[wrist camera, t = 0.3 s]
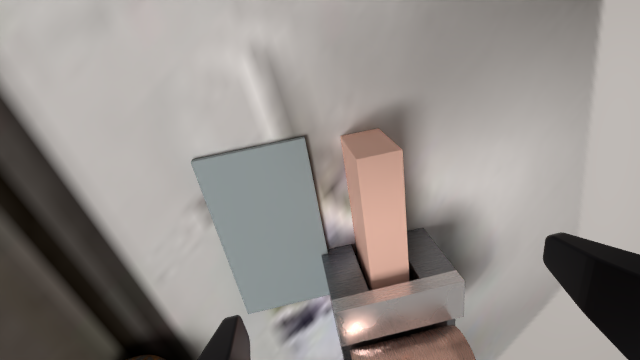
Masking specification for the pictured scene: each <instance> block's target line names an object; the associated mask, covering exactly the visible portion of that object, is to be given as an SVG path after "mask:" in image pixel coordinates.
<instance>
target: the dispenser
mask: <svg viewBox="0 0 640 360" xmlns="http://www.w3.org/2000/svg"><path fill="white" fill-rule="evenodd" d="M407 244H408V262H409V282H405V283H400V284H396V285H392V286H388V287H384V288H380V289H375V290H371V291H370V288H369V286H368V283H367V281H366V278H365V275H364V273H363V270H362V268H361V269H360V267H359V264H358V262H357V259H356V256H355V254H354V251H353V249H352V246H351V245H347V246H342V247H338V248H334V249H329V250H327V252H328V253H327V254H323V255H321V257H322V261H323V266H324V271H325V275H326V280H327V285H328V289H329V294H330V299H331V304H332V308H333V313H334V318H335V323H336V327H337V332H338V336H339V340H340V345H341V349H342V354H343V358H344V360H476V359H475V356H474V354H473V352H472V350H471V348H470V346H469V344H468V342H467V340H466V339H465V337H464V335H463V334H462V333H461V331H460V330H459V329H458V328H457V327H456V326H455V318H459V317H463V316H464V294H465V281H464V279H463V278H462V277H461V276H460V274H459V273H458V272H457V270H456V269H455V268H454V267H453V265H452V264H451V263H450V262H449V260H448V259H447V258H446V256H445V255H444V254H443V253H442V251H441V250H440V249H439V248H438V246H437V245H436V244H435V242H434V241H433V240H432V239H431V237H430V236H429V235H428V233H427V232H426V231H425V230H424V228H420V229H416V230H412V231H407Z"/></svg>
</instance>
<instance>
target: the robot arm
mask: <svg viewBox="0 0 640 360" xmlns="http://www.w3.org/2000/svg"><path fill="white" fill-rule="evenodd" d="M543 261H544V263H545V265H546V267H547V268H548V269H549V271H550V272H551V273H552V274H553V276H554V277H555V278H556V279H557V281H558V282H559V283H560V284H561V286H562V287H563V288H564V289H565V291H566V292H567V293H568V294H569V295H570V297H571V298H572V299H573V300H574V302H575V303H576V304H577V306H578V307H579V308H580V309H581V310H582V311H583V313H584V314H585V315H586V316H587V317H588V318H589V319H590V320H591V321H592V322H593V323H594V324H595V325H596V327H598V328H599V330H600V331H601V332H602V333H603V334H604V335H605V336H606V337H607V338H608V339H609V340H610V341H611V342H612V343H613V344H614V345H615V346H616V347H617V348H618V350H619V351H620V352H621V353H622V354H623V355H624V356H625V357H626V358H627V359H628V360H640V255H639V254H636V253H632V252H628V251H625V250H622V249H618V248H615V247H611V246H608V245H604V244H601V243H598V242H594V241H590V240H587V239H583V238H580V237H577V236H573V235H570V234H567V233H556V234H552V235H549V236H547V238H546V240H545V246H544V254H543ZM197 360H250V340H249V336H248V333H247V330H246V328H245V326H244V323H243V321H242V318H241V317H240V316H239V315H235V316H231V317H227V318H225V319H224V320H223V321H222V323H221V324H220V326H219V327H218V329H217V330H216V332H215V333H214V335H213V336H212V338H211V339H210V341H209V343H208V344H207V346H206V347H205V349H204V350H203V352H202V353H201V355H200V356H199V358H198V359H197Z"/></svg>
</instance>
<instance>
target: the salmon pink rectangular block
mask: <svg viewBox="0 0 640 360" xmlns="http://www.w3.org/2000/svg"><path fill="white" fill-rule="evenodd" d="M341 143H342V150H343V157H344V164H345V171H346V178H347V185H348V192H349V199H350V206H351V213H352V220H353V227H354V234H355V241H356V249H357V256H358V260H359V263H360V265H361V268H362V270H363V273H364V275H365V278H366V281H367V283H368V286H369V288H370V291H371V290H375V289H380V288H384V287H388V286H392V285H396V284H400V283H405V282H409V262H408V244H407V225H406V206H405V187H404V168H403V150H402V149H401V148H400V147H399V146H398V145H397V144H395V143H394V142H393V141H392V140H391V139H390V138H389V137H388V136H387V135H385V134H384V133H383V132H382V131H381V130H380V129H379V128H377V129H372V130H368V131H363V132H358V133H353V134H348V135H343V136H341Z"/></svg>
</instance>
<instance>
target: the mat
mask: <svg viewBox="0 0 640 360" xmlns="http://www.w3.org/2000/svg"><path fill="white" fill-rule="evenodd" d="M191 164H192V167H193V170H194V172H195V175H196V177H197V180H198V183H199V185H200V188H201V191H202V193H203V196H204V199H205V201H206V204H207V207H208V209H209V212H210V214H211V217H212V220H213V222H214V225H215V228H216V230H217V233H218V236H219V238H220V241H221V244H222V246H223V249H224V251H225V254H226V257H227V259H228V262H229V265H230V267H231V270H232V273H233V275H234V278H235V280H236V283H237V286H238V288H239V291H240V294H241V296H242V299H243V302H244V304H245V307H246V310H247V312H248V314H251V313H255V312H259V311H263V310H267V309H272V308H276V307H280V306H284V305H288V304H292V303H297V302H301V301H305V300H309V299H313V298H318V297H322V296H326V295H330V294H329V289H328V285H327V280H326V275H325V271H324V266H323V261H322V257H321V255H323V254H327V253H328V252H327V247H326V242H325V237H324V232H323V227H322V222H321V217H320V212H319V207H318V202H317V197H316V192H315V187H314V182H313V177H312V172H311V167H310V162H309V157H308V152H307V147H306V142H305V138H304V136H303V137H299V138H294V139H289V140H284V141H279V142H275V143H270V144H265V145H260V146H256V147H251V148H246V149H241V150H237V151H232V152H227V153H222V154H218V155H213V156H208V157H203V158H198V159H194V160H192V161H191Z"/></svg>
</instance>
